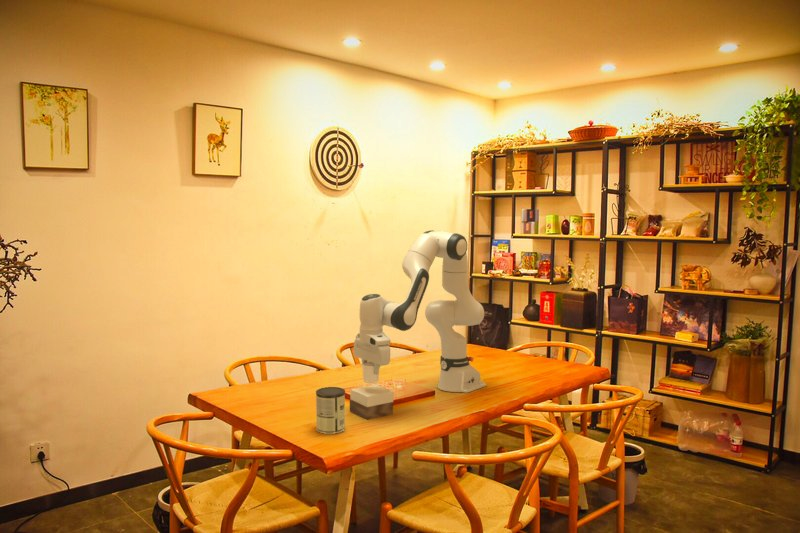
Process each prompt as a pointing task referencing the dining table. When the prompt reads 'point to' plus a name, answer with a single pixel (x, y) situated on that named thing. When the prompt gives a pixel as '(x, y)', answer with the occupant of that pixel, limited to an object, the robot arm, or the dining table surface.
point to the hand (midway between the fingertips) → (371, 372)
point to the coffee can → (330, 410)
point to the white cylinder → (369, 373)
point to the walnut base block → (371, 410)
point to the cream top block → (371, 395)
